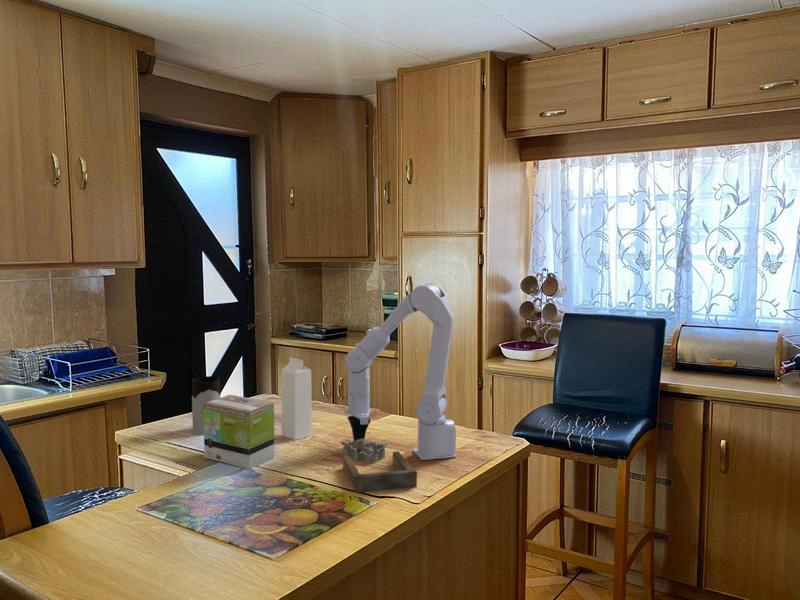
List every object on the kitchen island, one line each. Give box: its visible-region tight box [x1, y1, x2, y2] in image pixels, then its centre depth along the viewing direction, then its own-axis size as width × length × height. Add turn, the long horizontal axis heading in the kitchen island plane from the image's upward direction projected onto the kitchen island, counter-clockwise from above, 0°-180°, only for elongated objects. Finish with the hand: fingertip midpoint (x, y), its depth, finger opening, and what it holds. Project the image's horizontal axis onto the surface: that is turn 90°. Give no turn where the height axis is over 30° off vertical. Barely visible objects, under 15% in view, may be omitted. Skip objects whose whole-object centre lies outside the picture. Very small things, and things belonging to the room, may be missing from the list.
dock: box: [342, 451, 418, 493], centre depth 149 cm, size 14×16×4 cm
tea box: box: [203, 394, 275, 470], centre depth 160 cm, size 15×10×15 cm, turn 62°
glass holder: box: [190, 375, 222, 436], centre depth 185 cm, size 9×14×15 cm, turn 28°
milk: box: [280, 357, 313, 441], centre depth 178 cm, size 6×6×22 cm
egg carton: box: [340, 438, 388, 464], centre depth 163 cm, size 11×8×4 cm
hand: (358, 443), depth 171 cm, fingers closed
